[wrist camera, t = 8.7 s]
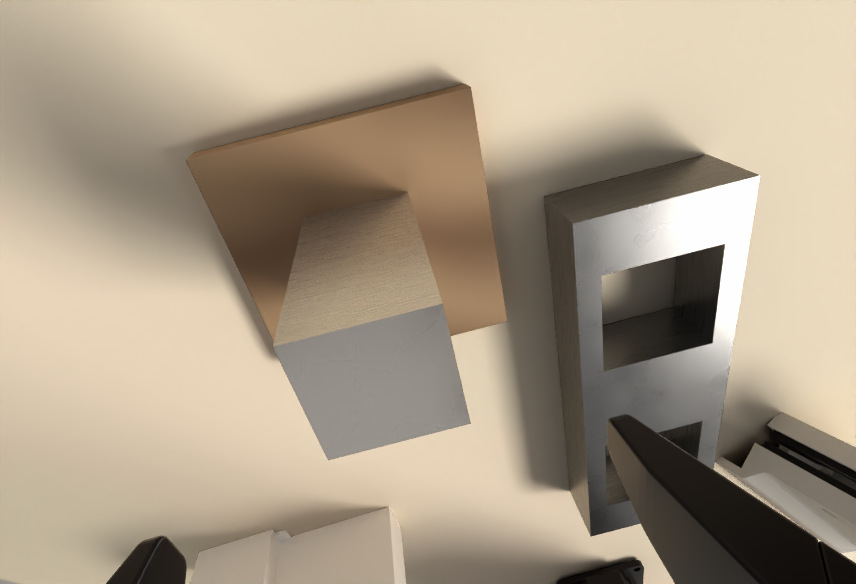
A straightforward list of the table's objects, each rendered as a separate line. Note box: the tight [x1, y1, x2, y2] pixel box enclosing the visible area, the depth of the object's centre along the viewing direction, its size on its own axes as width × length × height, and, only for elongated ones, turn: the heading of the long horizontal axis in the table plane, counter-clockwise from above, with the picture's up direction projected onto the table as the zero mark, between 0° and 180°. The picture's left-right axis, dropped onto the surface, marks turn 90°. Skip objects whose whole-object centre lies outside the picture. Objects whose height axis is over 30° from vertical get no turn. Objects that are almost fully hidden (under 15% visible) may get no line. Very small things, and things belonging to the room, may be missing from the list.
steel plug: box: [273, 192, 471, 460], centre depth 15 cm, size 4×4×8 cm
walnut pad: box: [186, 84, 507, 341], centre depth 19 cm, size 10×10×1 cm
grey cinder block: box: [544, 155, 760, 536], centre depth 24 cm, size 20×7×3 cm, turn 12°
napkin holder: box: [190, 507, 406, 584], centre depth 27 cm, size 15×11×6 cm
